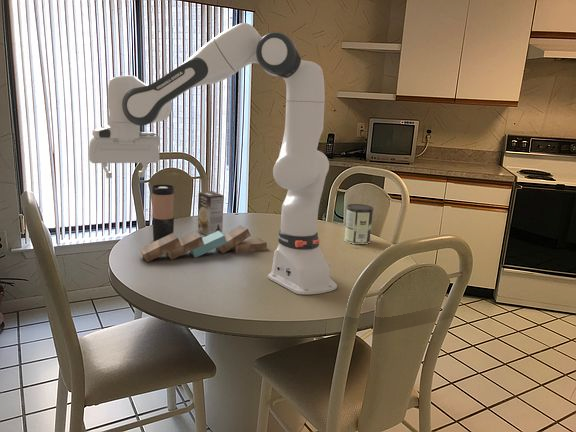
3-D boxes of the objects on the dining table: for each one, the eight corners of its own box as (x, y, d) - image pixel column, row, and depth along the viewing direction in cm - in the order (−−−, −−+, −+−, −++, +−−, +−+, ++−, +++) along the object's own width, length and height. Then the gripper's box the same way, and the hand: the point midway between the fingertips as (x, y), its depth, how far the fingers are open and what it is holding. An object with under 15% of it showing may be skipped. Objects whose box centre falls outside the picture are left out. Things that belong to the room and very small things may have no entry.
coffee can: (356, 236, 196) (360, 202, 193) (375, 243, 188) (379, 208, 185) (338, 239, 190) (341, 205, 187) (356, 246, 182) (360, 210, 179)
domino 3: (215, 249, 169) (243, 231, 174) (222, 253, 164) (251, 235, 169) (212, 242, 168) (240, 224, 172) (219, 246, 163) (247, 228, 167)
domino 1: (166, 254, 161) (198, 239, 165) (171, 260, 155) (204, 244, 160) (163, 246, 159) (195, 231, 164) (167, 252, 154) (201, 236, 158)
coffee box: (197, 231, 189) (197, 191, 185) (211, 229, 193) (211, 190, 189) (209, 237, 182) (209, 196, 178) (223, 235, 186) (224, 195, 182)
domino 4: (229, 249, 172) (259, 245, 177) (235, 254, 166) (266, 250, 172) (229, 241, 171) (259, 238, 177) (236, 246, 166) (266, 242, 172)
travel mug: (173, 236, 181) (173, 184, 176) (174, 242, 174) (174, 188, 169) (152, 236, 179) (152, 184, 174) (152, 242, 172) (151, 188, 167)
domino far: (143, 256, 157) (176, 240, 161) (147, 262, 152) (181, 245, 156) (139, 248, 156) (172, 232, 160) (143, 254, 151) (177, 237, 155)
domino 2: (190, 252, 164) (221, 238, 168) (195, 257, 159) (227, 242, 163) (187, 244, 163) (218, 230, 167) (192, 250, 158) (224, 235, 162)
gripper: (157, 131, 149) (157, 175, 153) (86, 130, 140) (88, 176, 143) (161, 133, 144) (162, 178, 147) (89, 131, 135) (91, 180, 138)
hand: (125, 177), depth 145 cm, fingers open, 8 cm apart
